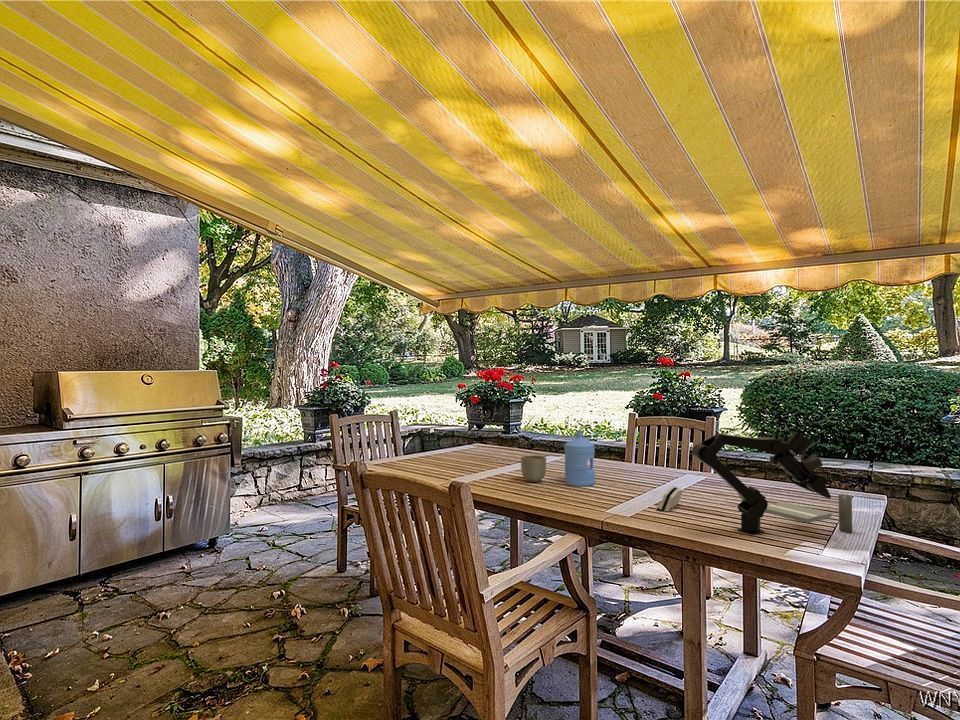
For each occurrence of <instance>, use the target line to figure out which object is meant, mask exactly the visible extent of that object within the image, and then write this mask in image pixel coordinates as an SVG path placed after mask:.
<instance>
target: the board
mask: <svg viewBox="0 0 960 720" xmlns="http://www.w3.org/2000/svg"><path fill="white" fill-rule="evenodd" d="M764 513H768V514H771V515H775V516H778V517H779V516H780V517H783V518H788V519H791V520H795V521H798V522H803V523H807V524H808V523H812V522H816V521H821V520H823V519H824V520H825V519H827V518H828V517H829V518H832V512H828V511H823V510H820V509H815V508H809V507H805V506H801V505H796V504H792V503H787V502H783V501H782V502H781V501H780V502H776V503H771V504H768V506H767V509H766V510H765V511H764Z"/></svg>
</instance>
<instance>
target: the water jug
mask: <svg viewBox="0 0 960 720" xmlns="http://www.w3.org/2000/svg"><path fill="white" fill-rule="evenodd" d="M575 435H576V436H575V438H574V439H571V440H570V441H568V442H566V443H565V444H564V472H565V473H564V474H565V475H564V477H565V478H564V481H565V484H566V485H569V486H571V485H572V487H580V486H584V487H591V486H594V485H595V484H596V477H595V476H596V473H595V472H596V471H595V469H594V465H595V464H594V458H595V450H596V449H595V448H596V447H595V443H594V442H590V441H589V440H586V439H585V438H583V430H581V429H578V430H575ZM588 460H589V467H588ZM590 485H591V486H590Z"/></svg>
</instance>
